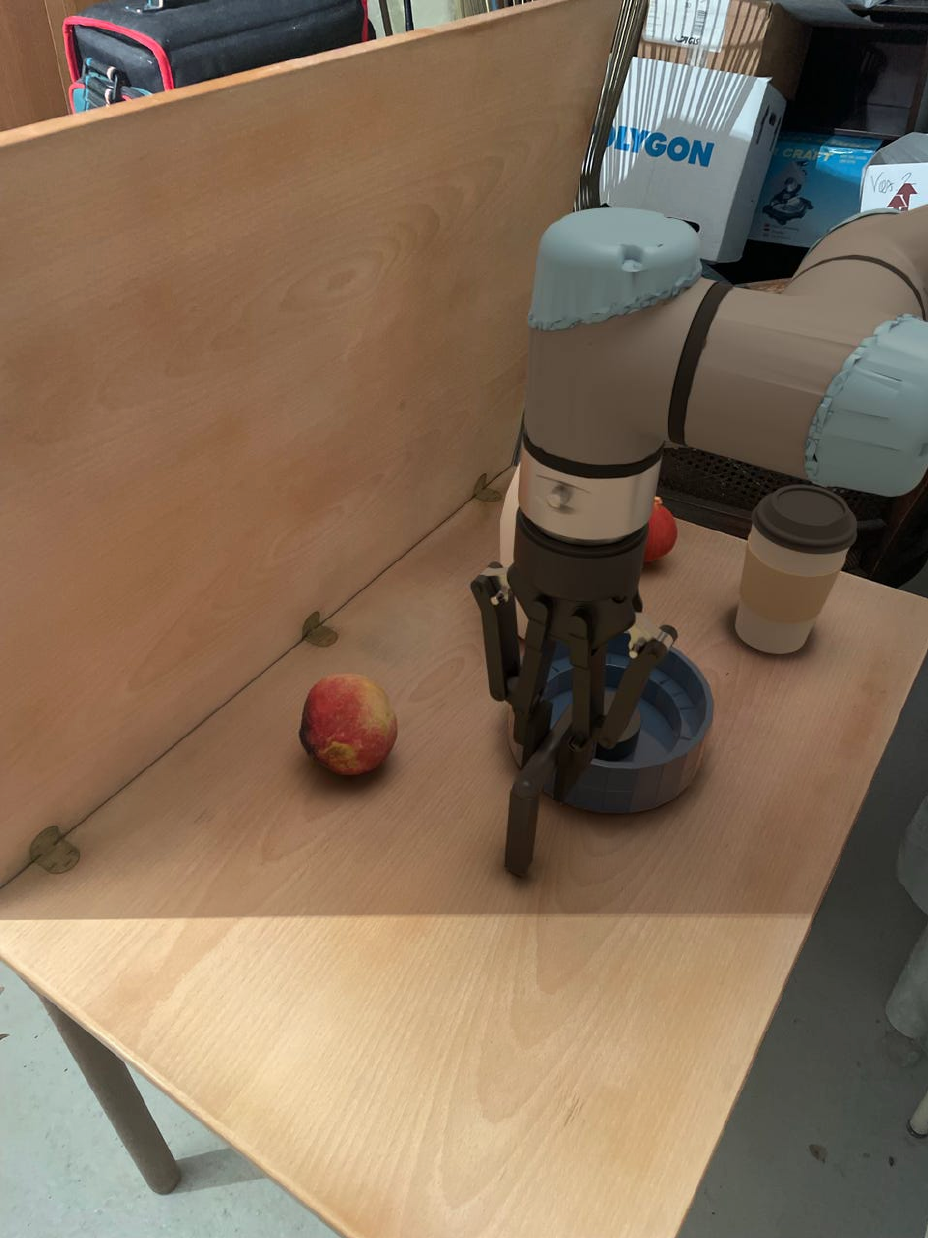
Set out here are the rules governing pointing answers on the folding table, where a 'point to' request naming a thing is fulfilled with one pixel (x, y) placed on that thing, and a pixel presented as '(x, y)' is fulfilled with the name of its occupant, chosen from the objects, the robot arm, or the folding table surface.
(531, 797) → the ladle
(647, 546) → the red pomegranate
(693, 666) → the bowl
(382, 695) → the fruit
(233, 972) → the folding table surface
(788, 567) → the coffee cup
